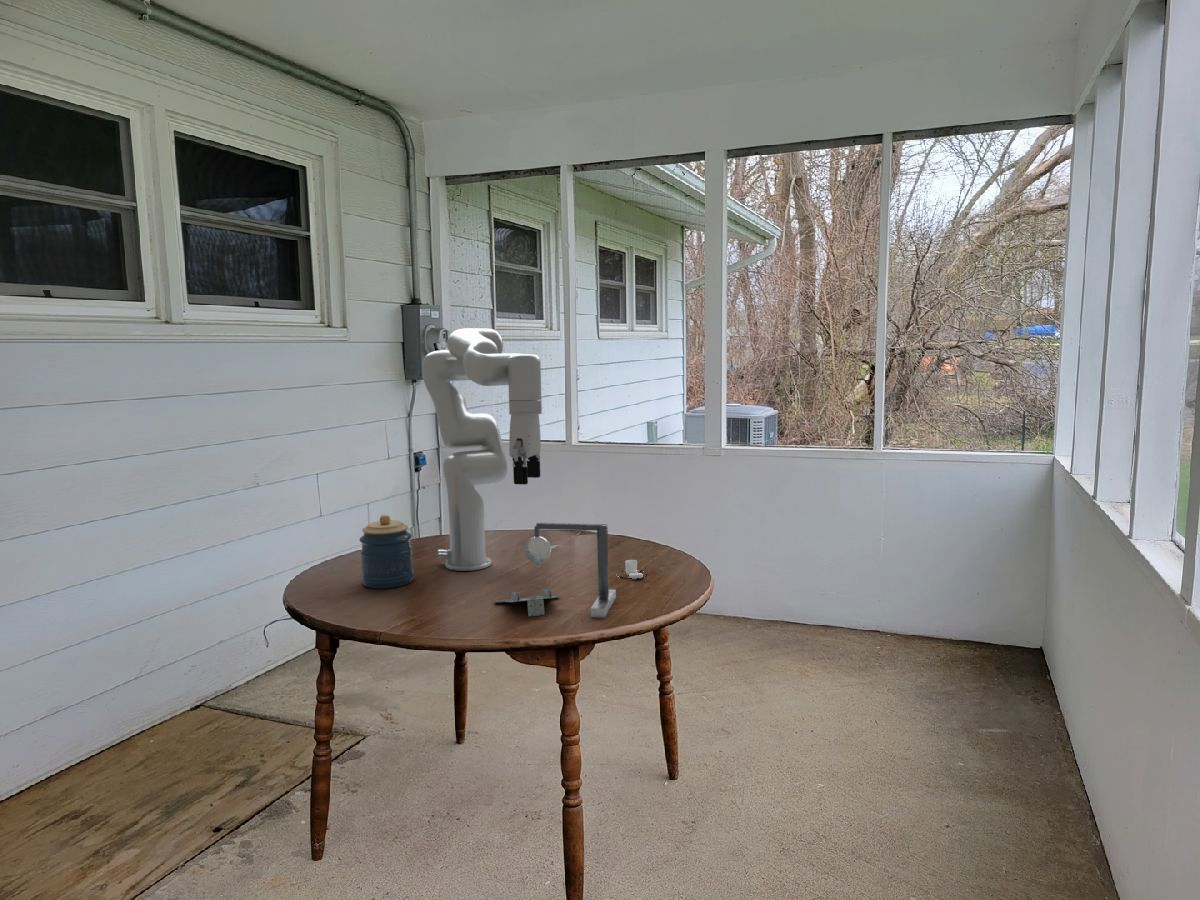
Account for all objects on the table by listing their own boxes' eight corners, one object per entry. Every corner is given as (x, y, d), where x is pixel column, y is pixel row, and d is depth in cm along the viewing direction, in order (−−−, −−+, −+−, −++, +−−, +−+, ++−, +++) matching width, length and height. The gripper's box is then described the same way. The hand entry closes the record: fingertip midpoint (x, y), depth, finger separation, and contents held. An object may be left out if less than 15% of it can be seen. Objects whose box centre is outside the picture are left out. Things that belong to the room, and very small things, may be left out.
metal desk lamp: (517, 613, 174) (515, 529, 172) (535, 594, 188) (533, 516, 186) (604, 617, 170) (602, 532, 168) (615, 598, 184) (614, 518, 182)
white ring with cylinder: (644, 582, 198) (643, 566, 197) (613, 581, 199) (613, 565, 199) (649, 572, 206) (649, 557, 206) (619, 571, 208) (619, 556, 207)
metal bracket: (568, 587, 175) (501, 593, 171) (570, 613, 174) (503, 621, 170) (555, 587, 188) (493, 593, 184) (557, 612, 187) (495, 618, 183)
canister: (421, 583, 199) (417, 515, 197) (370, 592, 192) (366, 522, 190) (404, 572, 210) (401, 507, 208) (355, 580, 203) (352, 513, 201)
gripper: (521, 405, 190) (523, 474, 192) (497, 410, 173) (499, 486, 175) (551, 405, 188) (553, 475, 190) (529, 410, 172) (531, 487, 174)
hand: (527, 480), depth 183 cm, fingers open, 9 cm apart
